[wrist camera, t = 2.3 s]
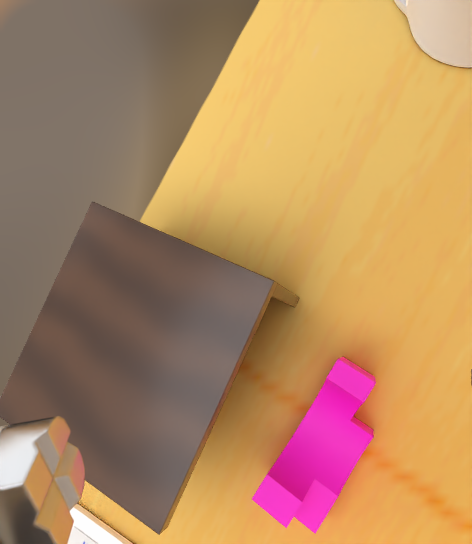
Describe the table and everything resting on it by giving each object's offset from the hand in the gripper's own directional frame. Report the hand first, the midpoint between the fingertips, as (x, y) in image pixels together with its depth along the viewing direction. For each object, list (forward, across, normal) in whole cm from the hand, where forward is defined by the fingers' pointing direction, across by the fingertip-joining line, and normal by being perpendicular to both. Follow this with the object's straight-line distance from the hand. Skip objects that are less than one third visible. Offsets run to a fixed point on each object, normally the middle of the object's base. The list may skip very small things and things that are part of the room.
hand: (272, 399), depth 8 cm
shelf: (+37, +8, +22) cm, 44 cm away
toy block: (+27, -6, +29) cm, 40 cm away
